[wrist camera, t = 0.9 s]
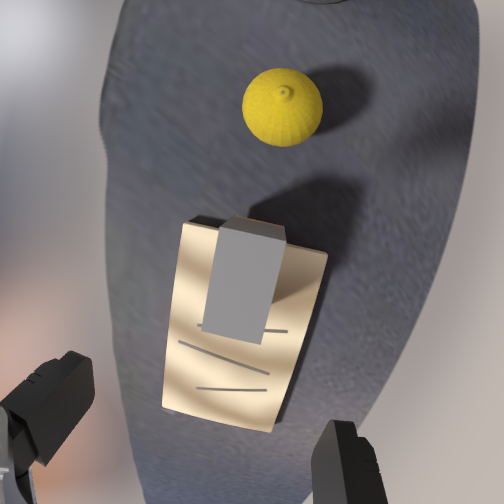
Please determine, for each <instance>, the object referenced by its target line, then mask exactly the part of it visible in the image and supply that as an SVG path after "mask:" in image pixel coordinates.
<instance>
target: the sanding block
mask: <svg viewBox="0 0 504 504" xmlns="http://www.w3.org/2000/svg"><path fill="white" fill-rule="evenodd" d="M286 242H287V241H286V235H285V228H284V226H281V225H276V224H272V223H267V222H263V221H258V220H254V219H249V218H245V217H240V216H235V215H234V216H233V217H232V218H230V219H229V220H228V221H226V222H225V223H224V224H222V225H221V226H220V227H219V232H218V238H217V243H216V248H215V254H214V259H213V264H212V270H211V276H210V281H209V287H208V293H207V298H206V304H205V310H204V316H203V322H202V328H201V331H203V332H207V333H211V334H215V335H219V336H223V337H227V338H231V339H236V340H240V341H245V342H249V343H254V344H258V345H261V342H262V338H263V334H264V330H265V326H266V323H267V319H268V315H269V311H270V307H271V303H272V299H273V295H274V291H275V287H276V283H277V279H278V275H279V271H280V267H281V262H282V258H283V254H284V250H285V246H286Z"/></svg>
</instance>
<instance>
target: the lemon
mask: <svg viewBox="0 0 504 504" xmlns="http://www.w3.org/2000/svg"><path fill="white" fill-rule="evenodd" d="M242 109H243V116H244V119H245V122H246V124H247V126H248V128H249V129H250V130H251V131H252V133H253V134H254V135H255V136H256V137H258V138H259V139H260V140H261V141H263V142H266V143H268V144H270V145H274V146H280V147H283V146H292V145H296V144H299V143H301V142H303V141H304V140H306V139H308V138H309V137H310V136H311V135H312V134H313V133H314V132H315V131H316V129H317V127H318V125H319V124H320V121H321V117H322V113H323V108H322V99H321V96H320V93H319V90H318V89H317V87H316V86H315V84H314V83H313V82H312V81H311V80H310V79H309V78H308V77H307V76H306V75H304V74H302V73H300V72H299V71H296V70H292V69H289V68H276V69H270V70H268V71H266V72H263V73H261V74H260V75H259V76H257V77H256V78H255V79H254V80H253V81H252V82H251V83H250V85H249V86H248V87H247V90H246V92H245V94H244V98H243V105H242Z"/></svg>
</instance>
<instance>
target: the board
mask: <svg viewBox="0 0 504 504" xmlns="http://www.w3.org/2000/svg"><path fill="white" fill-rule="evenodd" d="M218 232H219V228H215V227H211V226H206V225H202V224H197V223H192V222H185V223H183V229H182V236H181V242H180V248H179V255H178V261H177V268H176V275H175V283H174V290H173V298H172V306H171V314H170V323H169V332H168V341H167V351H166V362H165V374H164V387H163V401H162V407H165V408H168V409H172V410H175V411H178V412H182V413H185V414H189V415H193V416H196V417H200V418H204V419H208V420H212V421H216V422H221V423H225V424H229V425H234V426H239V427H244V428H249V429H254V430H259V431H265V432H271V430H272V428H273V425H274V423H275V420H276V417H277V415H278V412H279V409H280V406H281V404H282V401H283V398H284V395H285V393H286V390H287V387H288V384H289V381H290V379H291V376H292V373H293V370H294V367H295V364H296V361H297V358H298V355H299V352H300V349H301V346H302V343H303V340H304V336H305V333H306V330H307V327H308V324H309V320H310V317H311V314H312V311H313V307H314V304H315V301H316V297H317V294H318V290H319V287H320V283H321V280H322V276H323V273H324V269H325V265H326V262H327V258H328V255H327V253H326V252H322V251H318V250H314V249H309V248H305V247H301V246H296V245H292V244H287V243H286V246H285V250H284V254H283V258H282V262H281V267H280V271H279V275H278V279H277V283H276V287H275V291H274V295H273V299H272V303H271V307H270V311H269V315H268V319H267V323H266V326H265V330H264V334H263V338H262V342H261V345H258V344H254V343H249V342H245V341H240V340H236V339H231V338H227V337H223V336H219V335H215V334H211V333H207V332H203V331H201V328H202V322H203V316H204V310H205V304H206V298H207V293H208V287H209V281H210V276H211V270H212V264H213V259H214V254H215V248H216V243H217V238H218Z"/></svg>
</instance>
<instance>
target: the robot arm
mask: <svg viewBox="0 0 504 504" xmlns="http://www.w3.org/2000/svg"><path fill="white" fill-rule="evenodd" d="M301 1H305V2H310V3H317V4H329V3H336V2H340V1H343V0H301ZM94 396H95V388H94V378H93V369H92V361H91V359H90V358H88V357H86V356H83V355H81V354H79V353H76V352H74V351H69V352H67V353H66V354H65V355H64V356H63V357H62V358H61V359H60V360H58V359H53V360H50V361H48V362H45V363H43V364H42V365H40V366H39V367H38V368H37V369H36V370H35V371H34V373H31V374H30V375H29V376H28V377H27V379H26V380H24V381H23V382H22V383H20V384H19V385H18V386H17V387H16V388H15V389H14V390H13V391H12V392H11V393H9V394H8V395H7V396H6V397H5V398H4V399H3V400H2V401H1V402H0V504H37V501H36V496H35V490H34V483H33V476H32V469H31V464H32V463H33V462H34V461H37V462H38V463H40V464H42V465H43V466H45V467H46V465H47V464H48V463H49V461H50V460H51V459H52V457H53V456H54V454H55V453H56V452H57V450H58V449H59V448H60V446H61V445H62V444H63V442H64V441H65V440H66V438H67V437H68V436H69V434H70V433H71V431H72V430H73V429H74V428H75V426H76V425H77V424H78V422H79V421H80V420H81V418H82V417H83V416H84V414H85V413H86V412H87V411H88V409H89V408H90V406H91V405H92V403H93V400H94ZM311 470H312V487H313V504H388V501H387V497H386V493H385V489H384V486H383V482H382V477H381V474H380V473H379V471H380V470H379V466H378V463H377V459H376V455H375V452H374V448H373V447H372V446H371V445H370V443H369V442H368V441H367V439H366V438H365V437H358V435H357V431H356V427H355V424H354V422H351V421H340V420H330V421H329V422H328V424H327V425H326V427H325V429H324V431H323V433H322V435H321V437H320V439H319V441H318V442H317V444H316V446H315V448H314V451H313V454H312V459H311Z"/></svg>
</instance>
